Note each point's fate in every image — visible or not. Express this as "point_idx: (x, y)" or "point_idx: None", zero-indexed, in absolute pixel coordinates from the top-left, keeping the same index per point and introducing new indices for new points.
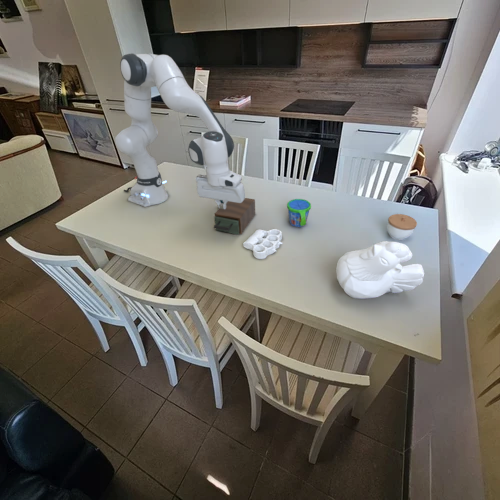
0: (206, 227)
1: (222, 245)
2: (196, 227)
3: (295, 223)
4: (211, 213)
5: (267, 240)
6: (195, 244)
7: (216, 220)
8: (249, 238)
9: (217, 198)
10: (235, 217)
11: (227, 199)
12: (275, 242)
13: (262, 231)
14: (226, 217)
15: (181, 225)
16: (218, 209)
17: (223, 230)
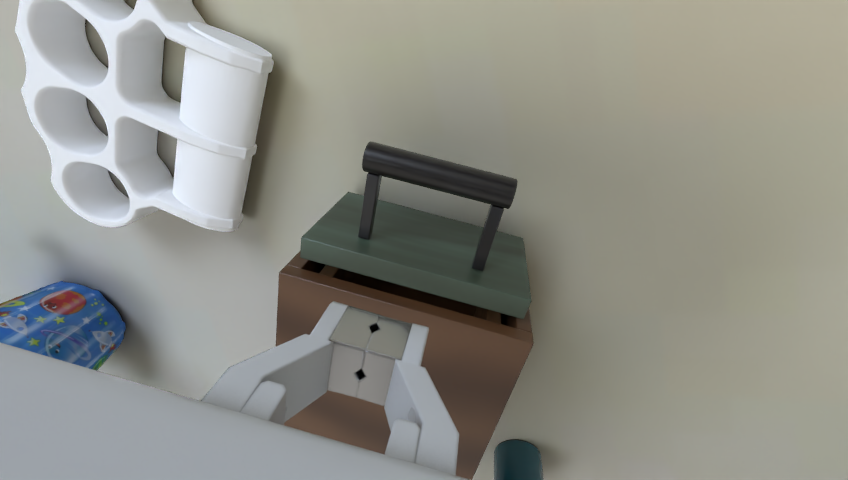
0: (604, 276)
1: (440, 65)
2: (686, 275)
3: (55, 292)
4: (587, 413)
5: (90, 90)
6: (679, 51)
7: (510, 279)
8: (229, 116)
9: (349, 474)
10: (322, 284)
11: (68, 409)
12: (31, 71)
13: (174, 202)
14: None
15: (822, 298)
16: (506, 397)
17: (461, 225)
